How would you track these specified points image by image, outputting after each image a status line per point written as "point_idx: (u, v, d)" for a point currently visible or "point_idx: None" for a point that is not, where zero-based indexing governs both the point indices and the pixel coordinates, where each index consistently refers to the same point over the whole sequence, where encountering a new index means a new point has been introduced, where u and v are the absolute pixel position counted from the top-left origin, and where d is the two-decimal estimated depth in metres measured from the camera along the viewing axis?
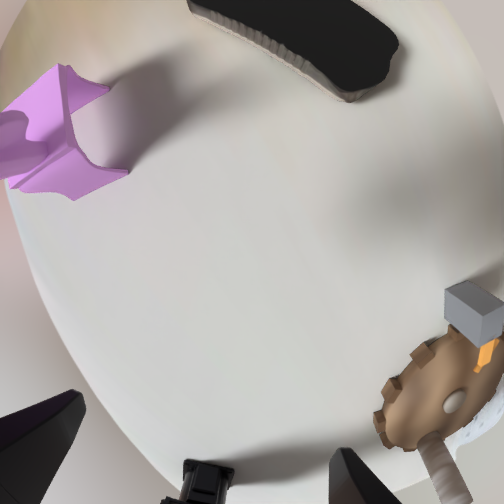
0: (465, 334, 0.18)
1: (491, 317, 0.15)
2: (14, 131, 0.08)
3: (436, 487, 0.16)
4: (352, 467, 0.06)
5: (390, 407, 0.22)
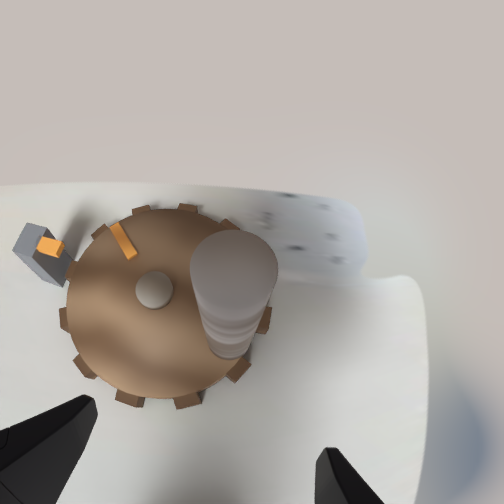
0: (41, 268, 0.20)
1: (20, 240, 0.18)
2: None
3: (220, 335, 0.13)
4: (337, 468, 0.06)
5: (100, 376, 0.18)
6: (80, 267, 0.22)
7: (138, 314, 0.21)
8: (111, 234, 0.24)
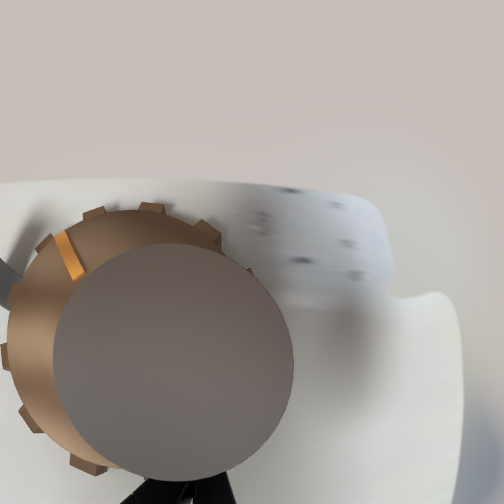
0: None
1: None
2: None
3: None
4: None
5: (50, 434, 0.11)
6: (21, 291, 0.15)
7: None
8: (56, 247, 0.17)
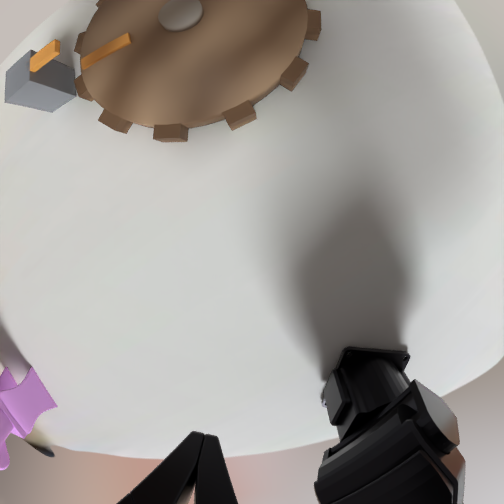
0: (45, 87, 0.13)
1: (9, 86, 0.11)
2: None
3: None
4: (205, 456, 0.06)
5: (259, 93, 0.15)
6: (112, 103, 0.15)
7: (199, 33, 0.14)
8: (90, 67, 0.15)
